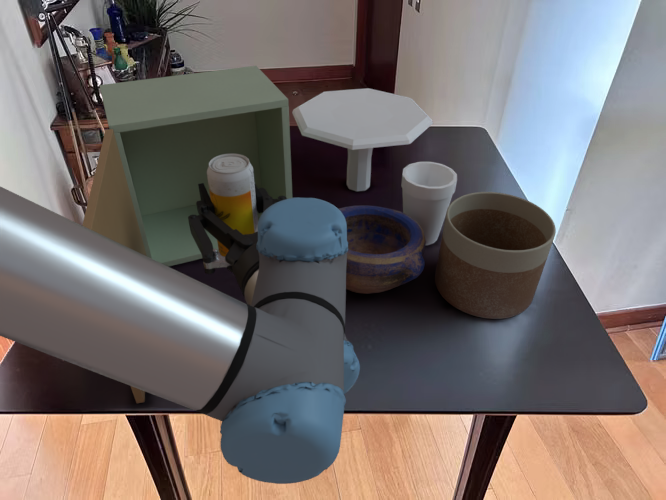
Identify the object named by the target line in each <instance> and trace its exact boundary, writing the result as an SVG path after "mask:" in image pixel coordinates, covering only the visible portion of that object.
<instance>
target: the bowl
mask: <svg viewBox="0 0 666 500" xmlns="http://www.w3.org/2000/svg"><path fill="white" fill-rule="evenodd" d="M338 209H339V210H340V211H341V212H342V214H343V215H344V217H345V220H346V224H347V241H348V243H349V244H348V251H347V265H346V291H349V292H352V293H356V294H365V295H367V294H368V295H369V294H379V293H384V292H387V291H389V290H392V289H394V288H395V289H396V288H397V287H400V286H402V285H405V284H407V283H409V282H411V281H413V280H415V279H417V278H418V277H419V276H420V275H421V274H422V272H423V271H424V269H425V264H426V263H425V259H424V257H423V256H424V254H425V251H426V245H425V244H426V240H425V236H424V232H423V230H422V228H421V227H420V225H419V224H418V223H417V222H416V221H415V220H413V219H412V218H411V217H409V216H408V215H406V214H404V213H403V211H400V210H397V209H393V208H388V207H382V206H377V205H365V204H363V205H350V206H344V207H339V208H338Z"/></svg>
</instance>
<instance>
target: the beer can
mask: <svg viewBox="0 0 666 500" xmlns="http://www.w3.org/2000/svg"><path fill="white" fill-rule="evenodd" d="M207 178H208V184H209V191H210V197H211V201H212V203H213V205H214V210H215V215H216V216H217V217H218V218H220V219H221V220H222V221H223V222H225V223H226V224H227V225H228V226H229V227H231V228H232V229H233V230H235V229H237V230H238V231H239V232H240V233H242V234H243V235H245V234H253V233H255V232H258V216H257V205H256V194H255V183H254V172H253V167H252V165H251V164H250V162H249V159H248V158H247V157H245V156H243V155H240V154H223V155H219V156H217V157H214V158H213V159H212V160H210V162H209V167H208V169H207ZM217 243H218V249H219V253H220V254H221V255H222V256H226V254H227V253H228V251H229V250H228V249H227V248H226V247H225V246H224V245H223V244H221V243H220V242H219V241H218V240H217Z"/></svg>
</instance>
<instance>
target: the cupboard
mask: <svg viewBox="0 0 666 500" xmlns="http://www.w3.org/2000/svg"><path fill="white" fill-rule="evenodd" d="M99 91H100V94H101V98H102V104H103V107H104V112H105V116H106V121H107V125H108V129H113V131H114V135H115V138H116V142H117V146H118V150H119V153H120V157H121V161H122V165H123V168H124V172H125V176H126V180H127V184H128V187H129V191H130V195H131V199H132V202H133V206H134V210H135V214H136V217H137V221H138V225H139V229H140V232H141V236H142V240H143V244H144V247H145V251H146V255H147V257H149V258H151V259H153V260H155V261H157V262H160V263H162V264H164V265H166V266H168V267H173V266H177V265H182V264H185V263H189V262H194V261H198V260H201V259H202V260H203V258H202V254H201V252H200V250H199V248H198V246H197V244H196V242H195V240H194V238H193V236H192V234H191V231H190V226H189V220H188V216H190V215H199V214H198V211H197V205H196V202H197V201H200V200H201V198H200V192H199V186H198V184H201V183H204V185H205V188H206V190H207V192H208V194H209V196H210V191H209V184H208V178H207V169H208V167H209V162H210V160H212V159H213V158H214V157H217V156H219V155H223V154H240V155H243V156H245V157H247V158H248V159H249V162H250V164H251V165H252V167H253V172H254V183H255V184H256V186H257V188H258V189H259V188H264V189H265V190H266V191H267V193H268V194H269V196H271V197H272V199H278V197H279V196H285V197H286V198H287V199H290V198H293V179H292V175H293V174H292V155H291V154H292V153H291V129H290V107H289V98H288V97H287V96H286V95H285V94H284V93H283V92H282V91H281V90H280V89H279V88H278V87H277V86H276V85H275V84H274V82H272V80H271V79H270V78H269V77H268V76H267V75H266V74H265V73H264V72H263V71H262V70H261V68H259V67H258V66H257V65H251V66H243V67H234V68H226V69H218V70H210V71H202V72H194V73H185V74H178V75H177V74H176V75H170V76H163V77H154V78H145V79H138V80H137V79H136V80H129V81H122V82H113V83H106V84H105V83H104V84H99ZM210 199H211V197H210ZM261 215H262V213H258V211H257V216H258V221H259V218H260V216H261ZM205 231H206V233H207V235H208V237H209V238H210V240H211V242H212V244H213V249H217V252H219V249H218V243H217V239H216V238H215V237H213V236H212V235H211V234H210V233H209V232H208V231H207V230H205Z"/></svg>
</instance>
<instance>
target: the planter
mask: <svg viewBox="0 0 666 500" xmlns="http://www.w3.org/2000/svg"><path fill="white" fill-rule="evenodd" d="M556 229H557V228H556V224H555V222H554V220H553V219H552V217H551V216H550V215H549V214H548V213H547V212H546V211H545V210H544V209H543V208H542V207H540V206H539V205H537V204H535V203H533V202H531V201H530V200H527V199H525V198H522V197H519V196H516V195H514V194H509V193H503V192H495V191H477V192H470V193H467V194H464V195H461V196H459V197H457V198H455V199H454V200H453V201H451V202H450V204H449V207H448V209H447V212H446V216H445V219H444V222H443V229H442V235H441V240H440V245H439V252H438V258H437V262H436V267H435V273H434V283H435V286H436V289H437V291H438V293H439V294H440V295H441V297H442V298H443V299H444V300H445V301H446V302H447V303H448V304H449V305H450V306H452V307H454V308H455V309H457V310H459V311H461V312H463V313H466V314H468V315H470V316H474V317H478V318H483V319H491V320H492V319H493V320H497V319H498V320H499V319H500V320H501V319H508V318H513V317H516V316H518V315H520V314H523V312H525V311H526V310H527V309H529V307H530V306H531V304H532V303H533V300H534V298H535V294H536V292H537V289H538V286H539V283H540V280H541V278H542V275H543V272H544V268H545V266H546V263H547V260H548V257H549V254H550V251H551V249H552V246H553V243H554V239H555V237H556V233H557V231H556Z"/></svg>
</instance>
